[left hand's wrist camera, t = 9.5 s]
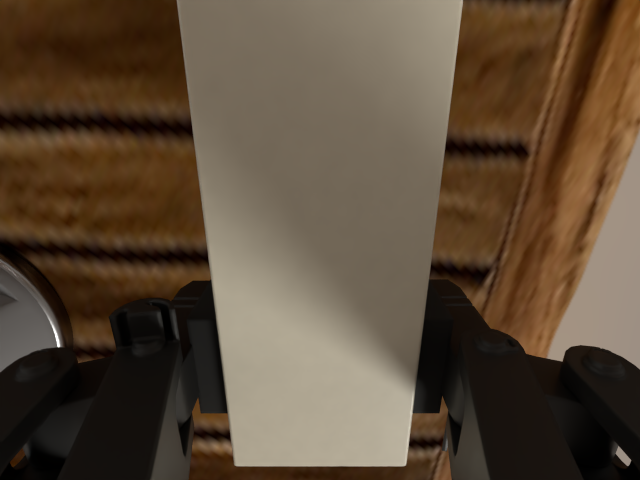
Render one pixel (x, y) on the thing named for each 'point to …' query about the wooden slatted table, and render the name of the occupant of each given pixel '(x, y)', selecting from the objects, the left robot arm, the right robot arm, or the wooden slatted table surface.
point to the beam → (320, 213)
